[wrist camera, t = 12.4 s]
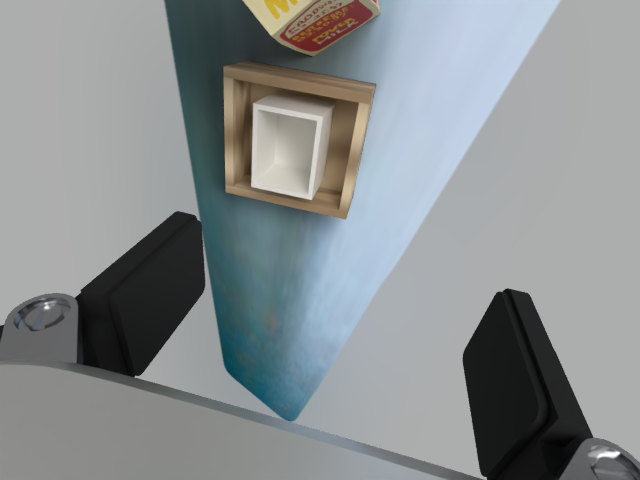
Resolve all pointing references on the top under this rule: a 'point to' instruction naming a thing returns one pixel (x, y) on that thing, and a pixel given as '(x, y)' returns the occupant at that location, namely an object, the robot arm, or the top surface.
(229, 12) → the top surface
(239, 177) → the pine crate
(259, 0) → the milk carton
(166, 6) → the top surface
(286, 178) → the cream crate
